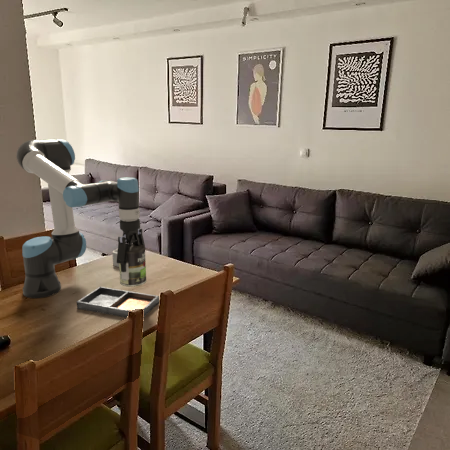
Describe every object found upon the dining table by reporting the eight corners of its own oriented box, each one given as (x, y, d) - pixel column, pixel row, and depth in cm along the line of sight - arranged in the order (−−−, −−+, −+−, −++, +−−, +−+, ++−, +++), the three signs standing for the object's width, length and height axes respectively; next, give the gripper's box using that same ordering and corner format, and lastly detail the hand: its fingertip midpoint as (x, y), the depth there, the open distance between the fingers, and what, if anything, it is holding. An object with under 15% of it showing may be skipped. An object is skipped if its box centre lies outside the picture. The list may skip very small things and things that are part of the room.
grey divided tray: (77, 308, 154) (76, 301, 153) (100, 292, 169) (100, 286, 168) (140, 320, 146) (140, 313, 145) (159, 302, 160) (159, 296, 160)
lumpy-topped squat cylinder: (124, 259, 210) (123, 243, 208) (142, 263, 204) (142, 247, 202) (110, 265, 201) (109, 249, 199) (129, 269, 195) (128, 253, 193)
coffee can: (150, 277, 156) (149, 244, 152) (140, 288, 146) (138, 252, 143) (127, 275, 158) (125, 242, 154) (115, 285, 148) (112, 250, 145)
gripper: (122, 227, 134) (125, 286, 140) (152, 213, 155) (154, 265, 161) (103, 225, 136) (107, 283, 142) (136, 211, 157) (138, 263, 163)
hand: (132, 274), depth 151 cm, fingers closed on coffee can, 10 cm apart
